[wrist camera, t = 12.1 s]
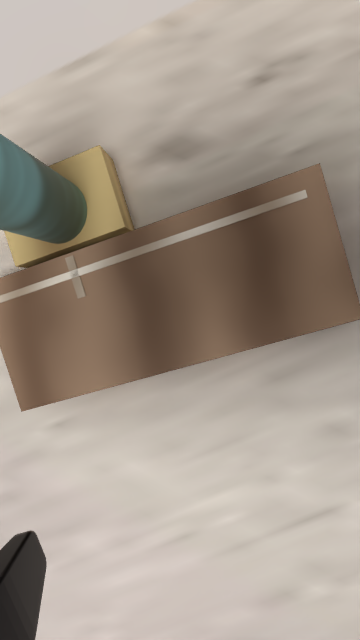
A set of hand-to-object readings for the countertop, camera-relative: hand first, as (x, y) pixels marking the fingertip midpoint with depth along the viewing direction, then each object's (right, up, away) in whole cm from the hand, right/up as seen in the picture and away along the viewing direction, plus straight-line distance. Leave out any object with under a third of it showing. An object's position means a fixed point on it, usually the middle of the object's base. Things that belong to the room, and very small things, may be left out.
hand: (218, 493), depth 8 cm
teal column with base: (-8, +11, +13) cm, 18 cm away
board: (-2, +5, +12) cm, 13 cm away
